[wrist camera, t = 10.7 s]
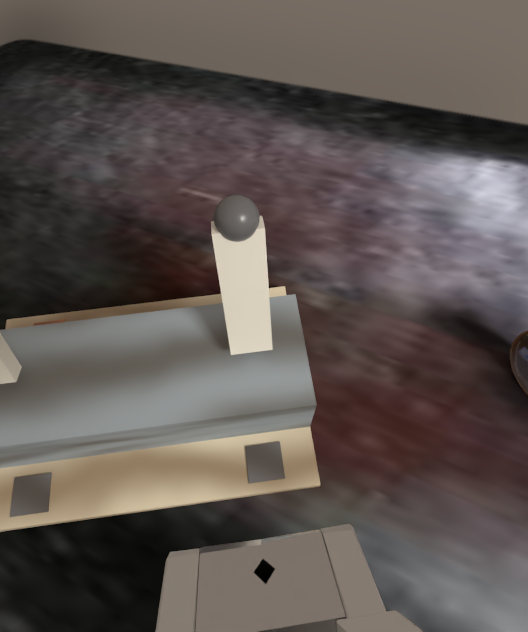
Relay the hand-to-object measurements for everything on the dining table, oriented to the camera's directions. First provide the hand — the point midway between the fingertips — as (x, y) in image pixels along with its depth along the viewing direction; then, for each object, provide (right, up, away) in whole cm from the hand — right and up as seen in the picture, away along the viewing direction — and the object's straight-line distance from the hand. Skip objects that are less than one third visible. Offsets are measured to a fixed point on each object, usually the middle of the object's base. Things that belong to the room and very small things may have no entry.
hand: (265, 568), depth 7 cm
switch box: (-10, -3, +31) cm, 33 cm away
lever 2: (-1, +1, +26) cm, 26 cm away
